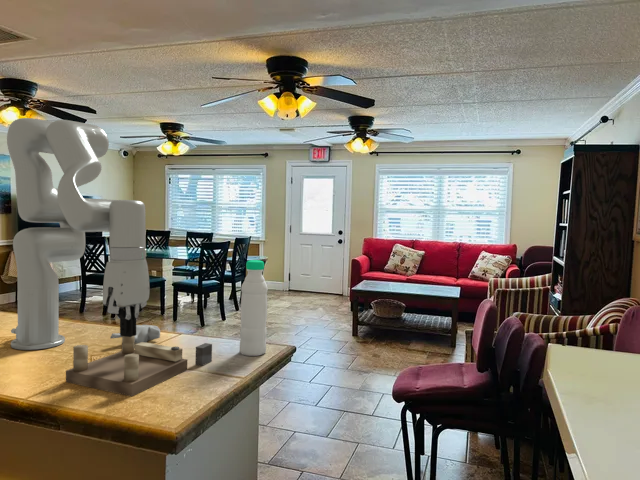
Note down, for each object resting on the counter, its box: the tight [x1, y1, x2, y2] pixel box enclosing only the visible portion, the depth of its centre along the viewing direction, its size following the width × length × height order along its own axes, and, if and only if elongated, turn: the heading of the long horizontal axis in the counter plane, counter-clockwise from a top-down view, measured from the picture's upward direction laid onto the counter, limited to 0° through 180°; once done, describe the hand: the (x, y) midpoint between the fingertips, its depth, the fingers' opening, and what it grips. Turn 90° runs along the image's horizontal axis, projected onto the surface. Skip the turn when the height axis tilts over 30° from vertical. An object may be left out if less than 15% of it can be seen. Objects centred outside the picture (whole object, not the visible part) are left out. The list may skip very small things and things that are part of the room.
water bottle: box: [239, 259, 268, 357], centre depth 126 cm, size 7×7×25 cm
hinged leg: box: [134, 342, 183, 361], centre depth 112 cm, size 12×2×3 cm, turn 69°
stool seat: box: [65, 336, 213, 397], centre depth 110 cm, size 19×26×8 cm
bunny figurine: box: [109, 324, 161, 344], centre depth 133 cm, size 10×5×15 cm
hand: (128, 335), depth 107 cm, fingers closed
